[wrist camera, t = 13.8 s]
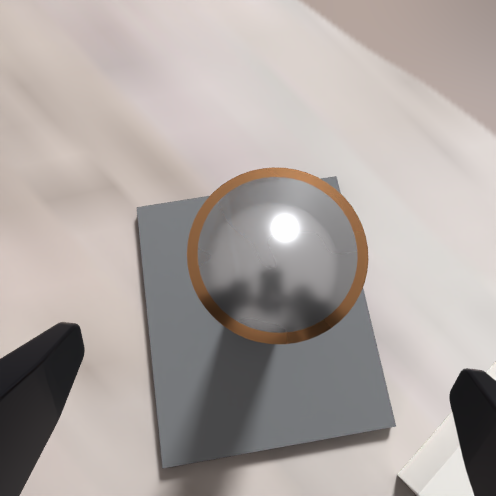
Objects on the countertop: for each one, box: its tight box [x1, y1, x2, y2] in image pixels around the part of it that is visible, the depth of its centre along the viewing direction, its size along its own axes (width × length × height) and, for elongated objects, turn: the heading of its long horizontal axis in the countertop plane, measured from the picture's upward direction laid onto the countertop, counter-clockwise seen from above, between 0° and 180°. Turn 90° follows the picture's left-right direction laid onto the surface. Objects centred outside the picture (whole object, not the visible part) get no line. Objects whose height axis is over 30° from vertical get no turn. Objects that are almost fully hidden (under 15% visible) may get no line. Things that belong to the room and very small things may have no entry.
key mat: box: [137, 176, 396, 468], centre depth 21 cm, size 14×12×1 cm
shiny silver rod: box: [187, 168, 368, 344], centre depth 14 cm, size 3×3×14 cm
